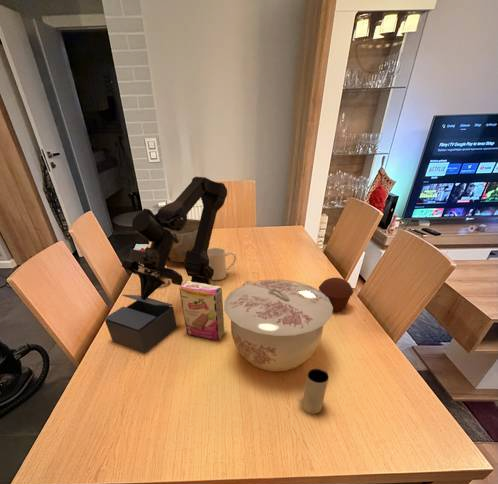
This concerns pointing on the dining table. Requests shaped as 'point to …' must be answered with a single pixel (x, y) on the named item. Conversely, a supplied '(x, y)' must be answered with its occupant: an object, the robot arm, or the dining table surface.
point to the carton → (141, 325)
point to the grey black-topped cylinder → (315, 390)
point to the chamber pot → (277, 322)
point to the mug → (219, 262)
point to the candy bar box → (203, 310)
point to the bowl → (184, 240)
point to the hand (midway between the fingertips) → (143, 299)
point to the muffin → (337, 292)
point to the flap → (148, 300)
